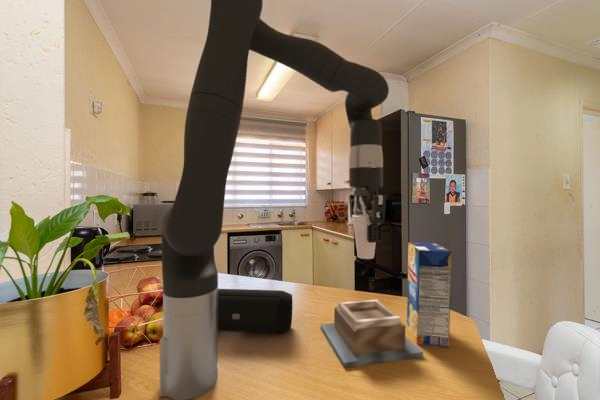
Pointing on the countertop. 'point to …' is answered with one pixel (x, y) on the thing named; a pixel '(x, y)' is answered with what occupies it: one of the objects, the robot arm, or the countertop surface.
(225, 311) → the portable speaker
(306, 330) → the countertop surface
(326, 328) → the pedestal base
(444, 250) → the beverage box
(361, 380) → the countertop surface
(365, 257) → the smoothie
